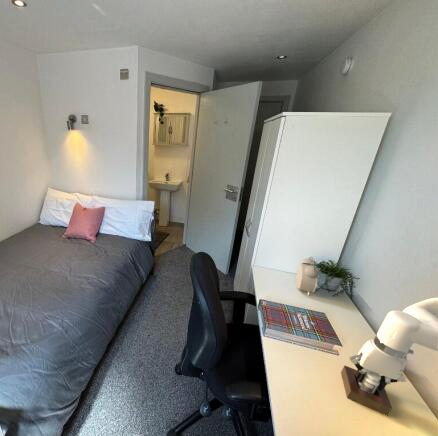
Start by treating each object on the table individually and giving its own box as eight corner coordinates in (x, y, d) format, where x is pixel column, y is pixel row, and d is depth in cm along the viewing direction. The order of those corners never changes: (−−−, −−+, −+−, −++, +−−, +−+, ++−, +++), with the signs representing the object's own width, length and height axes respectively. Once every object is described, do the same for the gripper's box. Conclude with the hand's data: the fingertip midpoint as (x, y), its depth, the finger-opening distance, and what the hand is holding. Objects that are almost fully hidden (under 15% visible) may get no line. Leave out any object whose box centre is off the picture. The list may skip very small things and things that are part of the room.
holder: (377, 387, 86) (381, 379, 84) (387, 416, 77) (392, 408, 75) (340, 372, 91) (344, 365, 89) (346, 398, 82) (350, 390, 80)
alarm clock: (313, 300, 129) (325, 267, 121) (295, 295, 133) (306, 263, 125) (308, 284, 143) (319, 253, 135) (292, 280, 147) (302, 250, 139)
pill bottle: (366, 383, 85) (375, 367, 82) (376, 397, 81) (386, 381, 78) (352, 381, 85) (361, 366, 82) (362, 395, 81) (371, 379, 78)
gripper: (420, 349, 74) (396, 386, 81) (354, 327, 82) (336, 362, 89) (432, 368, 68) (405, 406, 75) (359, 342, 76) (340, 379, 82)
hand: (368, 382), depth 82 cm, fingers closed on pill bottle, 4 cm apart
